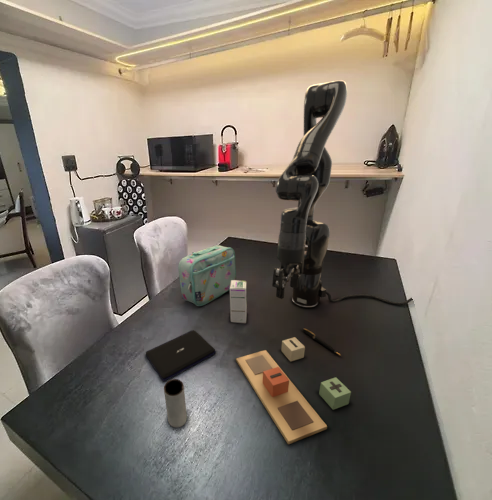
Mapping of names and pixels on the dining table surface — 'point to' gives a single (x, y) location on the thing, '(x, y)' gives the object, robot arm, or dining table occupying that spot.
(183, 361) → the laptop
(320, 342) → the fountain pen
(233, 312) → the syrup box
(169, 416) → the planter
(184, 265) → the lunch box
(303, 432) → the wood board
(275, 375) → the orange slotted cube
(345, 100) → the robot arm
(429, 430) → the dining table surface
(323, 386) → the green plus block
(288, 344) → the cream slotted cube
